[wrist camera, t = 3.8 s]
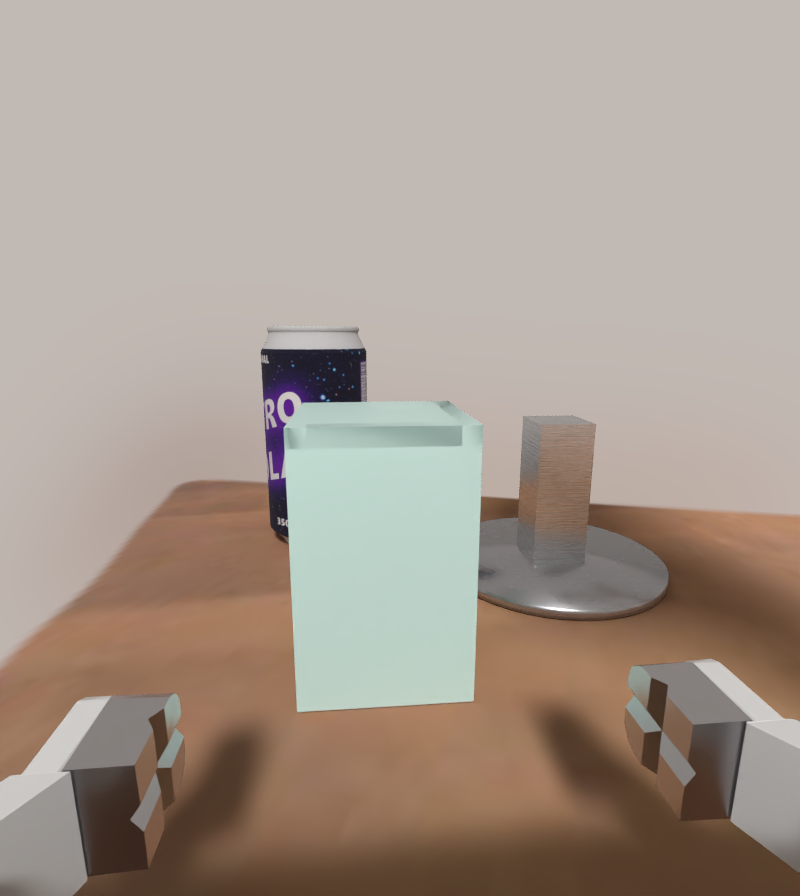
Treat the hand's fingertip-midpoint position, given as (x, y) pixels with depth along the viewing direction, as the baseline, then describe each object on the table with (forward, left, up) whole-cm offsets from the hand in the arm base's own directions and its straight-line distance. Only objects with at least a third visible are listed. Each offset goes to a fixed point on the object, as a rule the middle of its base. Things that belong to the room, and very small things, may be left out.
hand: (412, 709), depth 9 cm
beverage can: (+3, -21, -5) cm, 22 cm away
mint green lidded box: (0, -9, -5) cm, 10 cm away
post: (-9, -16, -5) cm, 19 cm away
